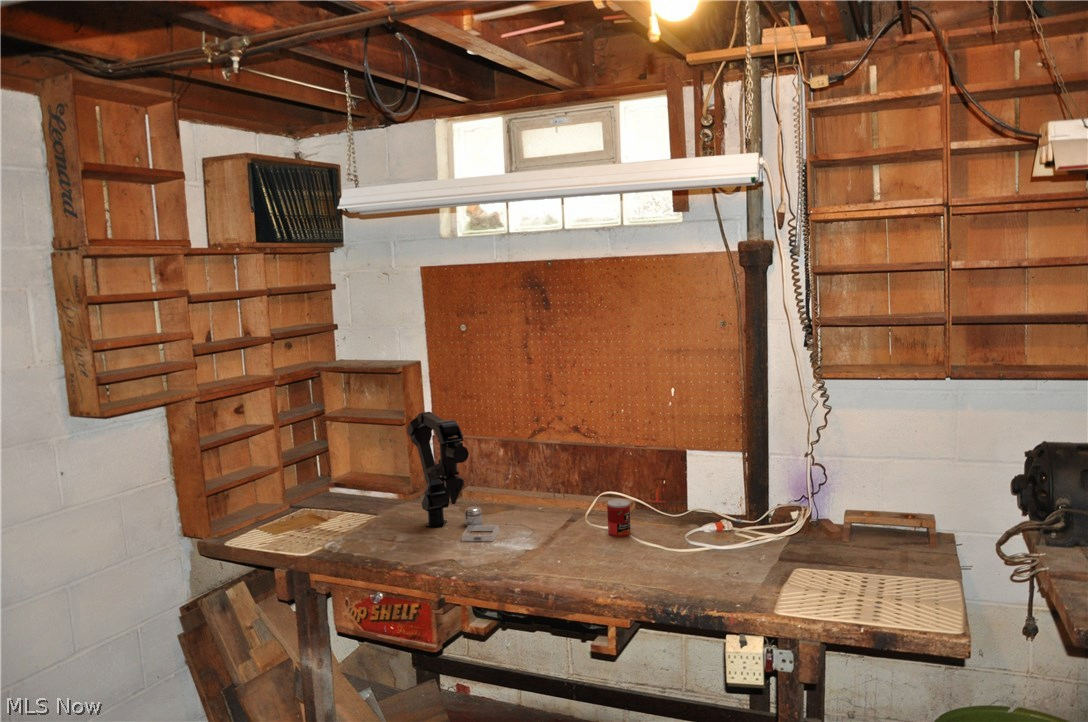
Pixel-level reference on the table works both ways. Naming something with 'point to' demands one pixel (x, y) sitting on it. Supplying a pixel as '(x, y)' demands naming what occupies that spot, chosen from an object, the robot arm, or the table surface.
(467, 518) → the piston
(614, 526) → the canned food
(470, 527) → the grey square frame
